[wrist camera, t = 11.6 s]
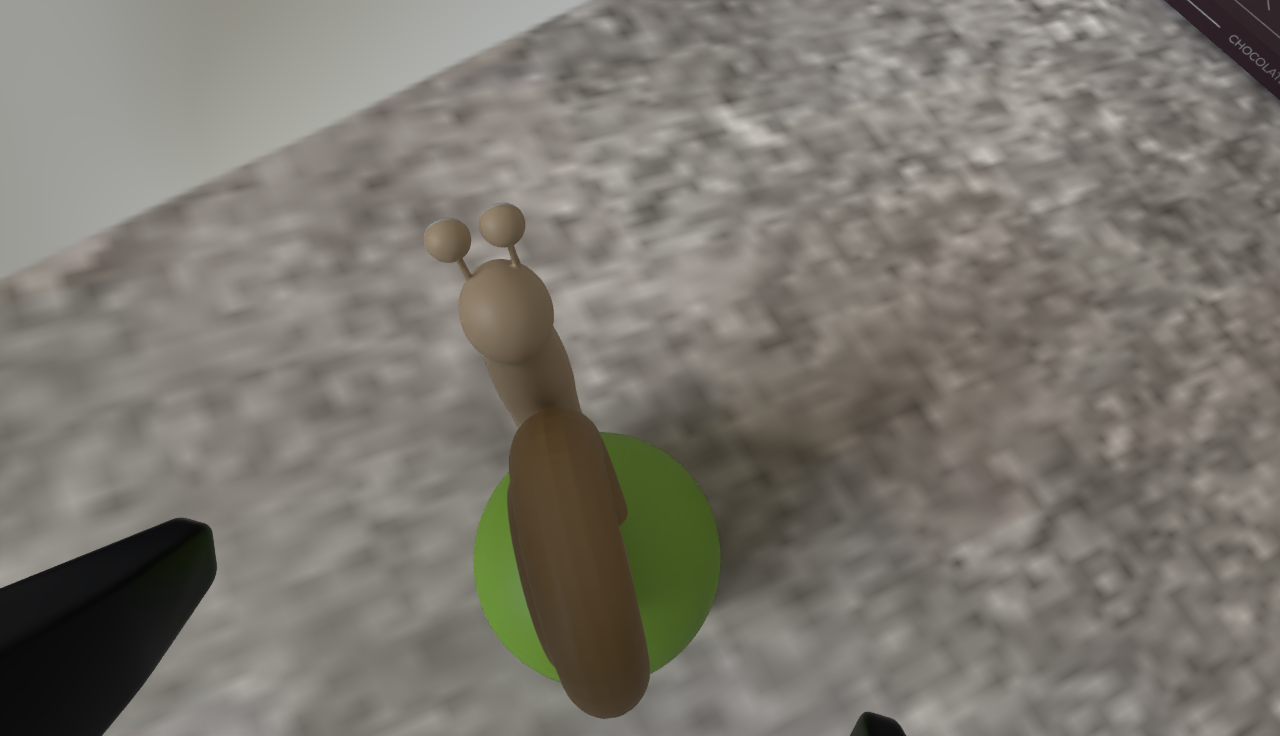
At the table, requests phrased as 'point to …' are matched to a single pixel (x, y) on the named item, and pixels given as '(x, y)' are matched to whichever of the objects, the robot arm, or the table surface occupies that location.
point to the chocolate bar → (1241, 33)
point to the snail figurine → (575, 503)
